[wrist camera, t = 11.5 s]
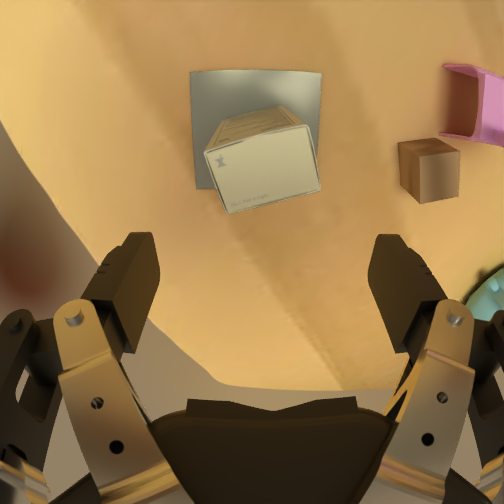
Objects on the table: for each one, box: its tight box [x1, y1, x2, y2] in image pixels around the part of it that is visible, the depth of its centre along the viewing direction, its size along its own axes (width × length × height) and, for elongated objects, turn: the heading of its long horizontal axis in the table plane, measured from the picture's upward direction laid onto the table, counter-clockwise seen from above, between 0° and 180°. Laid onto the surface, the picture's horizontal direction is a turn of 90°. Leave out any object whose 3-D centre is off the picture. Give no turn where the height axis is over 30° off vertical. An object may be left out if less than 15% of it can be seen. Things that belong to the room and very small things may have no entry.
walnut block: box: [398, 138, 460, 204], centre depth 27 cm, size 5×5×5 cm
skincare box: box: [204, 105, 321, 214], centre depth 22 cm, size 6×4×12 cm
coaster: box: [190, 70, 322, 189], centre depth 27 cm, size 12×12×1 cm
